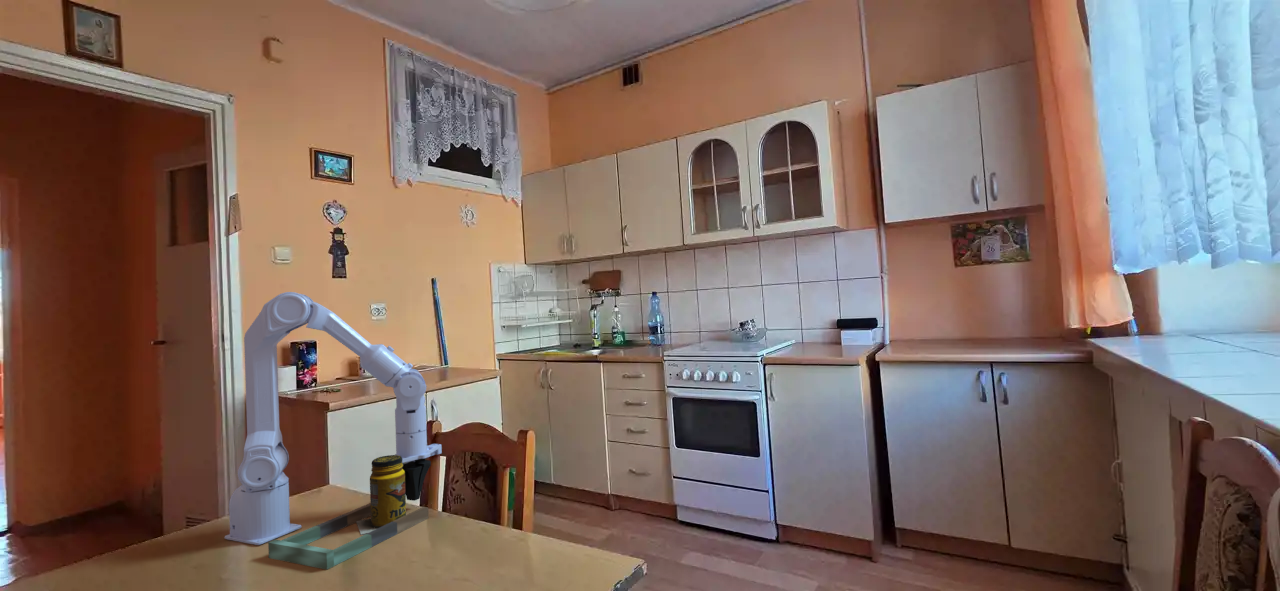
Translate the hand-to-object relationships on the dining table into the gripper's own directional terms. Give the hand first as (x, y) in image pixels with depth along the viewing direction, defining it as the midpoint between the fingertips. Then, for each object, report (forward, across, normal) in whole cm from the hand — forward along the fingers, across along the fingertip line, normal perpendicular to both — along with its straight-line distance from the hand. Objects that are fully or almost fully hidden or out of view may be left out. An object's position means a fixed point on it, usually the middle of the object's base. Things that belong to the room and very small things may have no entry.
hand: (413, 499), depth 110 cm
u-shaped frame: (+2, -13, 0) cm, 13 cm away
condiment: (+2, -7, 0) cm, 8 cm away
